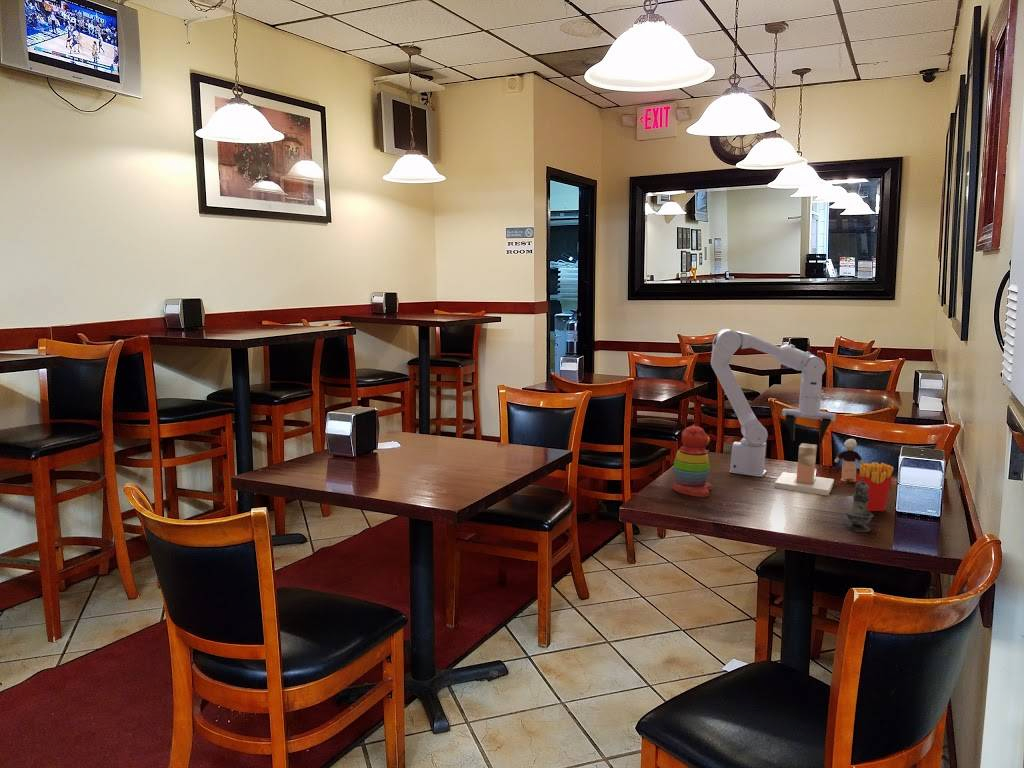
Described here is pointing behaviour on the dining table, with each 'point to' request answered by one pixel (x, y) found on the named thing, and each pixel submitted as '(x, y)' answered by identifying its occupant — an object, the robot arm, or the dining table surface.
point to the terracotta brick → (805, 474)
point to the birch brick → (807, 454)
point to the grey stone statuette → (859, 509)
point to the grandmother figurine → (849, 461)
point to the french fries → (876, 484)
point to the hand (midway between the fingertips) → (806, 442)
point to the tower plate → (804, 484)
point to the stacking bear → (692, 463)
